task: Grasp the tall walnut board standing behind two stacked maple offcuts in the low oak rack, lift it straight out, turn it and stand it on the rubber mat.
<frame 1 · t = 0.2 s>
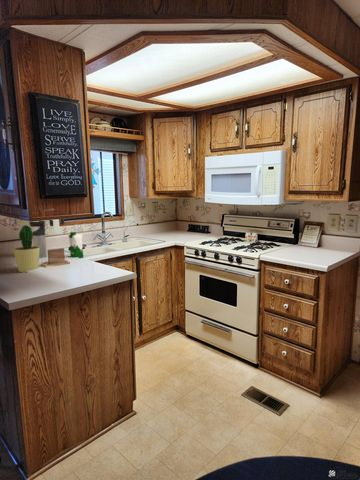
hand: (57, 225, 214), 28 cm above the worktop, fingers open, 8 cm apart
milk carton: (77, 258, 244), on the worktop
walnut board: (57, 266, 215), on the worktop
potted cactus: (28, 270, 205), on the worktop
rubber mat: (74, 262, 227), on the worktop
oak rack: (55, 265, 217), on the worktop
offcut upper: (54, 263, 218), point 1 cm above the worktop
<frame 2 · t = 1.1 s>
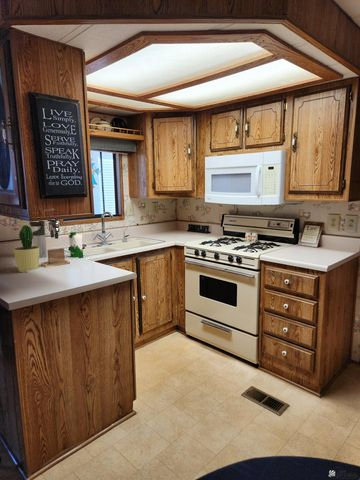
hand: (54, 238, 212), 20 cm above the worktop, fingers open, 8 cm apart
nothing on the worktop moved.
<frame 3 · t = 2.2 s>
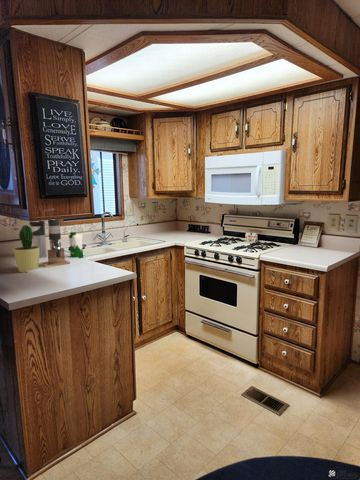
hand: (56, 256, 214), 7 cm above the worktop, fingers open, 8 cm apart
nothing on the worktop moved.
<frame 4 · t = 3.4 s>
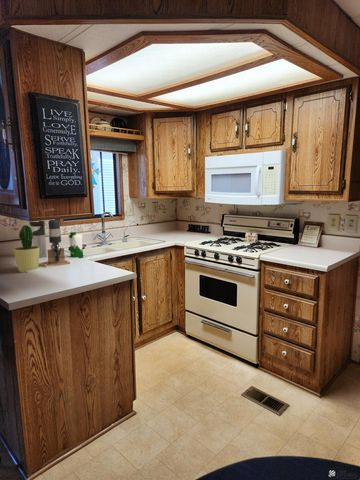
hand: (56, 260, 214), 4 cm above the worktop, fingers closed on walnut board, 3 cm apart
walnut board: (56, 266, 215), on the worktop, touching gripper
offcut upper: (54, 263, 218), point 1 cm above the worktop, touching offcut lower
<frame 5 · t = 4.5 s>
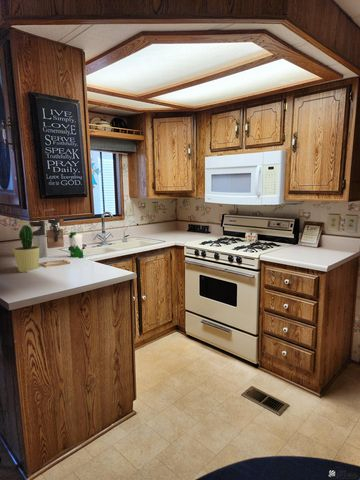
hand: (55, 241, 213), 17 cm above the worktop, fingers closed on walnut board, 3 cm apart
walnut board: (55, 247, 213), point 13 cm above the worktop, touching gripper
everything else where it was.
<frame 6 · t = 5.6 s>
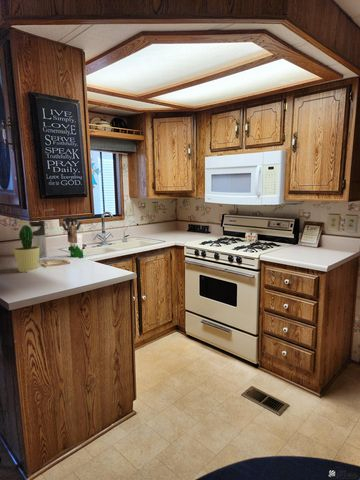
hand: (72, 236, 224), 19 cm above the worktop, fingers closed on walnut board, 3 cm apart
walnut board: (72, 242, 224), point 15 cm above the worktop, touching gripper
offcut upper: (54, 263, 219), point 1 cm above the worktop
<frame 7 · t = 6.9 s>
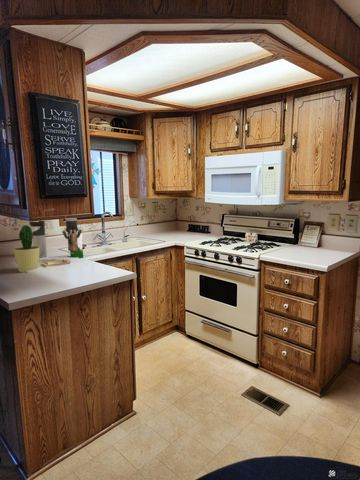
hand: (72, 244, 225), 13 cm above the worktop, fingers closed on walnut board, 3 cm apart
walnut board: (73, 250, 225), point 9 cm above the worktop, touching gripper
offcut upper: (54, 263, 218), point 1 cm above the worktop, touching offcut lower
when the fingers open (5 cm above the worktop, at t = 8.7 s): walnut board stays where it is, resting on rubber mat.
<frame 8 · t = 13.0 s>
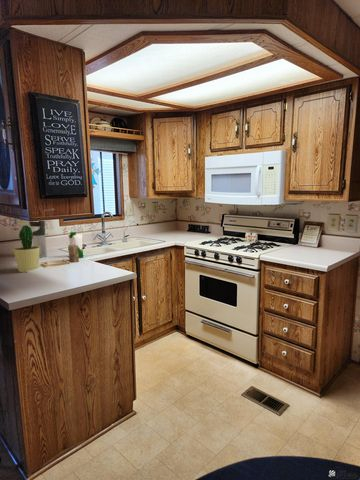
hand: (55, 212, 226), 36 cm above the worktop, fingers open, 8 cm apart
walnut board: (74, 262, 227), resting on rubber mat
at the end: walnut board inside the target area (0.0 cm from its centre), resting on rubber mat; walnut board tilted 0°; the gripper is holding nothing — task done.
